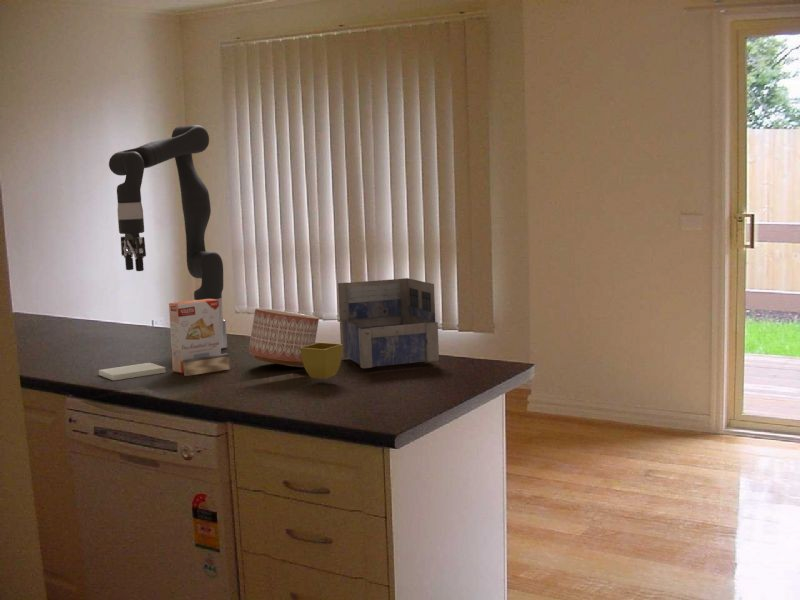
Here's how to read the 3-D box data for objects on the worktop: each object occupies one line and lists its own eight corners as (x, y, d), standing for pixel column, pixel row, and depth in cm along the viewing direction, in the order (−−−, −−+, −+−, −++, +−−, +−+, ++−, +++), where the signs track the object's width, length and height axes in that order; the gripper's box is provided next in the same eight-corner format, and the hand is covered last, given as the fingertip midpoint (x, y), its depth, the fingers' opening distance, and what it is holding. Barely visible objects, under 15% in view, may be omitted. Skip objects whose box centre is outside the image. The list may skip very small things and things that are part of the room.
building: (438, 360, 285) (436, 283, 282) (363, 368, 277) (359, 289, 275) (412, 349, 307) (409, 278, 304) (341, 356, 299) (337, 283, 296)
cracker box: (182, 374, 278) (177, 304, 276) (172, 372, 283) (167, 302, 280) (223, 367, 288) (219, 298, 285) (213, 364, 292) (208, 297, 290)
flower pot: (326, 381, 260) (324, 349, 259) (300, 379, 264) (299, 347, 263) (344, 375, 267) (343, 344, 266) (319, 373, 272) (318, 342, 271)
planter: (255, 354, 294) (262, 307, 294) (315, 364, 293) (323, 317, 292) (241, 358, 274) (249, 308, 274) (305, 369, 273) (313, 318, 273)
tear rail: (227, 368, 285) (226, 353, 284) (229, 369, 284) (229, 354, 283) (184, 375, 277) (183, 359, 276) (186, 376, 275) (185, 360, 275)
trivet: (150, 367, 292) (149, 362, 292) (165, 372, 282) (165, 367, 282) (99, 374, 283) (98, 370, 282) (113, 380, 273) (112, 375, 273)
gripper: (151, 217, 286) (155, 270, 288) (134, 217, 297) (138, 268, 299) (127, 218, 281) (131, 272, 283) (110, 218, 293) (114, 270, 295)
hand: (134, 270), depth 291 cm, fingers open, 8 cm apart
